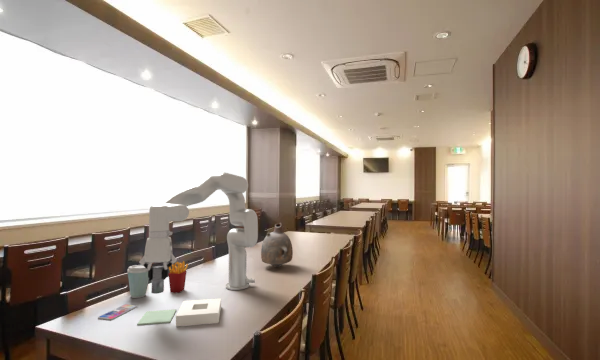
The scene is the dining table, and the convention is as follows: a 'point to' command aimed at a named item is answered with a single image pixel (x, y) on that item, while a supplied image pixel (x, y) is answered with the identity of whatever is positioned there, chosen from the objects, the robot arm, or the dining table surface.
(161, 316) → the pad
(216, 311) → the pocket block
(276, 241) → the jug
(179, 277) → the french fries
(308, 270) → the dining table surface
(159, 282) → the peg
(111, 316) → the smartphone
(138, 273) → the disposable coffee cup
